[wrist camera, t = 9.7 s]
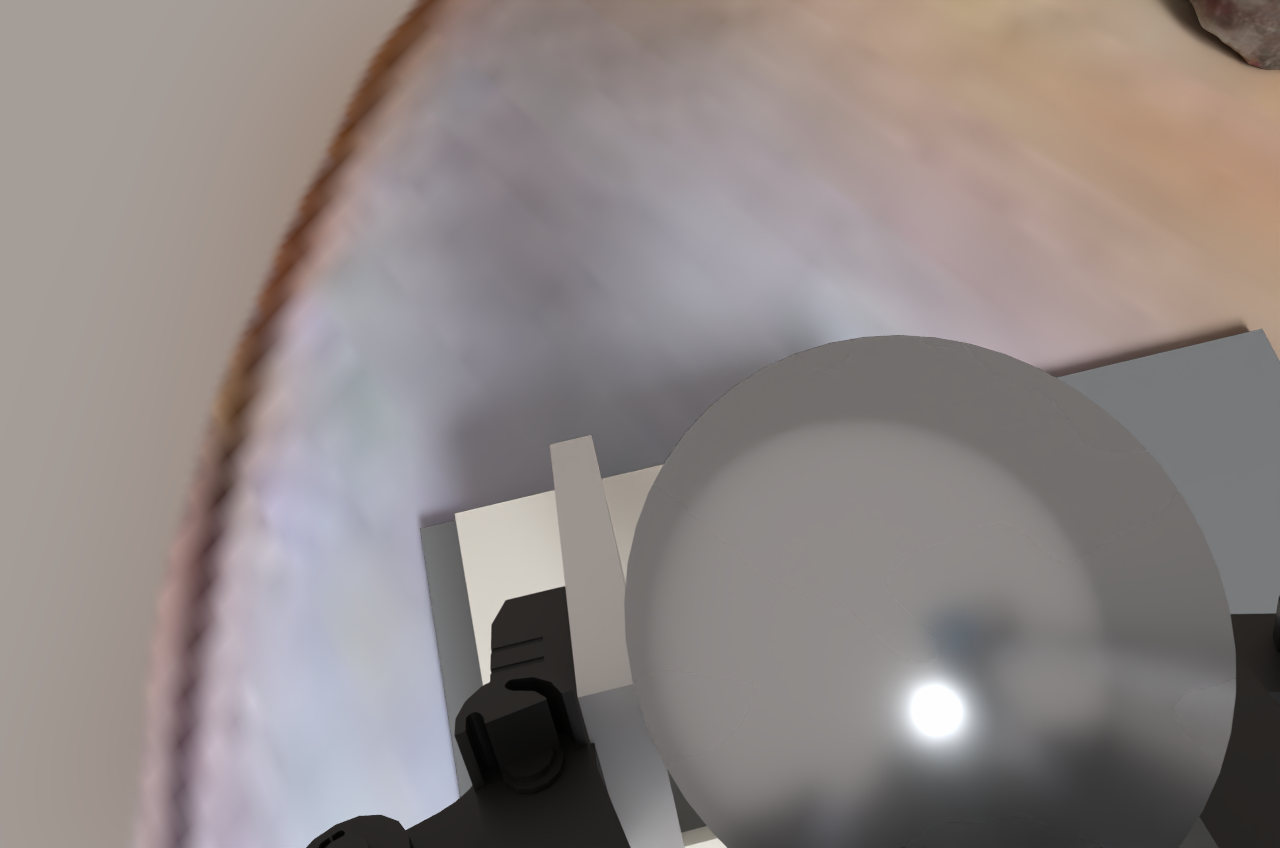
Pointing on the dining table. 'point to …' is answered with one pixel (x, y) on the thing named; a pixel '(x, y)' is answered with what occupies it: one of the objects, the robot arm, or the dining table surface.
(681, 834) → the robot arm
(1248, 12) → the candle
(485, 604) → the hole block
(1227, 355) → the mat
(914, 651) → the pin
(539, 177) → the dining table surface
